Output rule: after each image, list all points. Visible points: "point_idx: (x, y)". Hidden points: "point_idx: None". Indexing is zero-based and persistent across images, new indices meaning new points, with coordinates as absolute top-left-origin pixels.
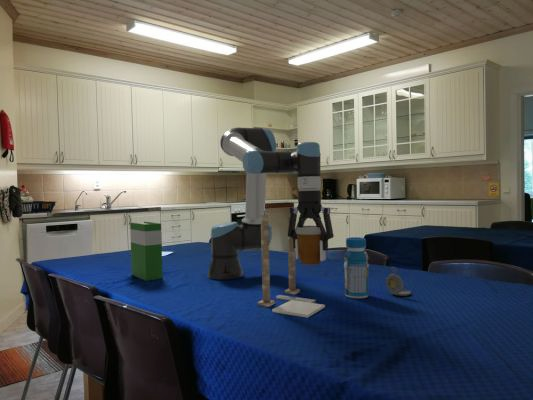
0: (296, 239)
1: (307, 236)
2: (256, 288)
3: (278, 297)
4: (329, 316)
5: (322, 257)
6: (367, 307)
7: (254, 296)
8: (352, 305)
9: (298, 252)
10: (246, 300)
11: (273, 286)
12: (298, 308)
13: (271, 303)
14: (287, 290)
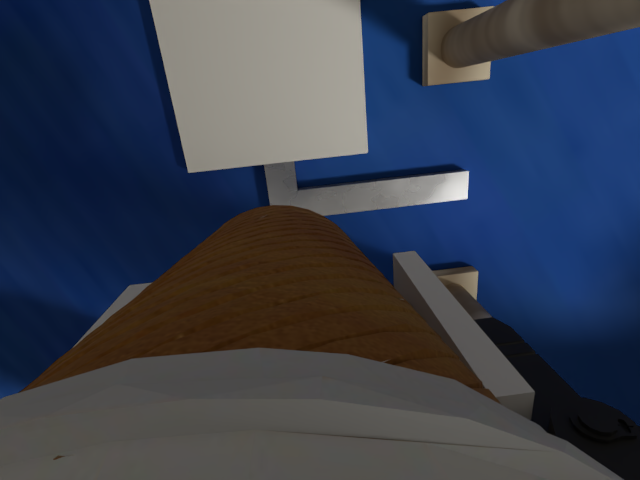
0: (513, 399)
1: (86, 362)
2: (629, 263)
3: (453, 171)
4: (78, 48)
5: (115, 308)
6: (49, 272)
7: (577, 143)
8: (116, 264)
9: (412, 300)
10: (582, 55)
11: (571, 329)
12: (250, 36)
13: (425, 48)
14: (466, 277)
